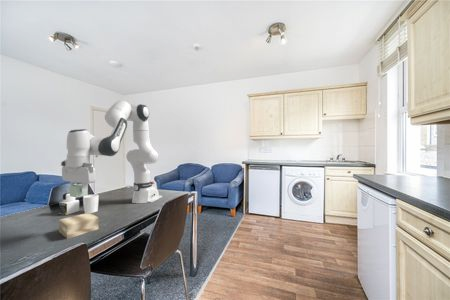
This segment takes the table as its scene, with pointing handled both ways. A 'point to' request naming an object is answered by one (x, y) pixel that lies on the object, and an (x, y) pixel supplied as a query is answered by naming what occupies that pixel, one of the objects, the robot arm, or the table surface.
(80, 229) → the beech block
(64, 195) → the medicine bottle
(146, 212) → the table surface
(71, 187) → the sage cube
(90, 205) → the white cup
